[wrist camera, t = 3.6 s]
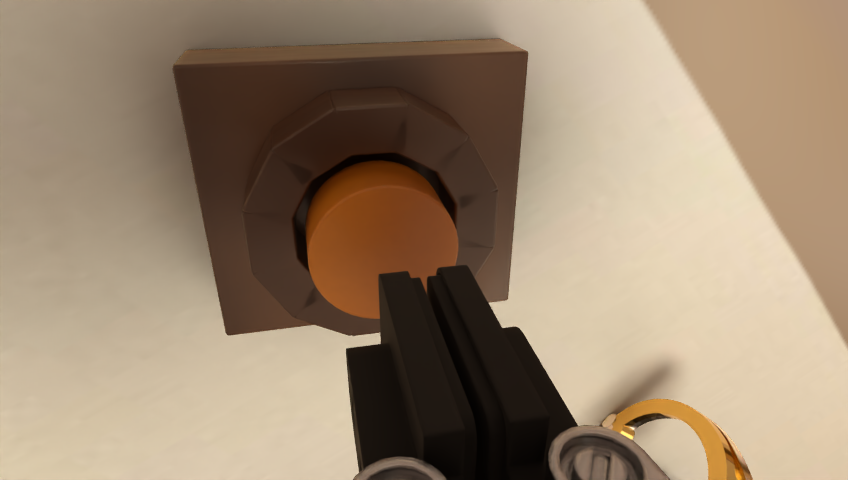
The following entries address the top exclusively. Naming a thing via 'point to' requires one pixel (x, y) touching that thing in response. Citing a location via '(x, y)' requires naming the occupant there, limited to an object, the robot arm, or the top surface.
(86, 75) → the top surface
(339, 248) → the power button
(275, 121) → the switch block
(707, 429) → the ring
